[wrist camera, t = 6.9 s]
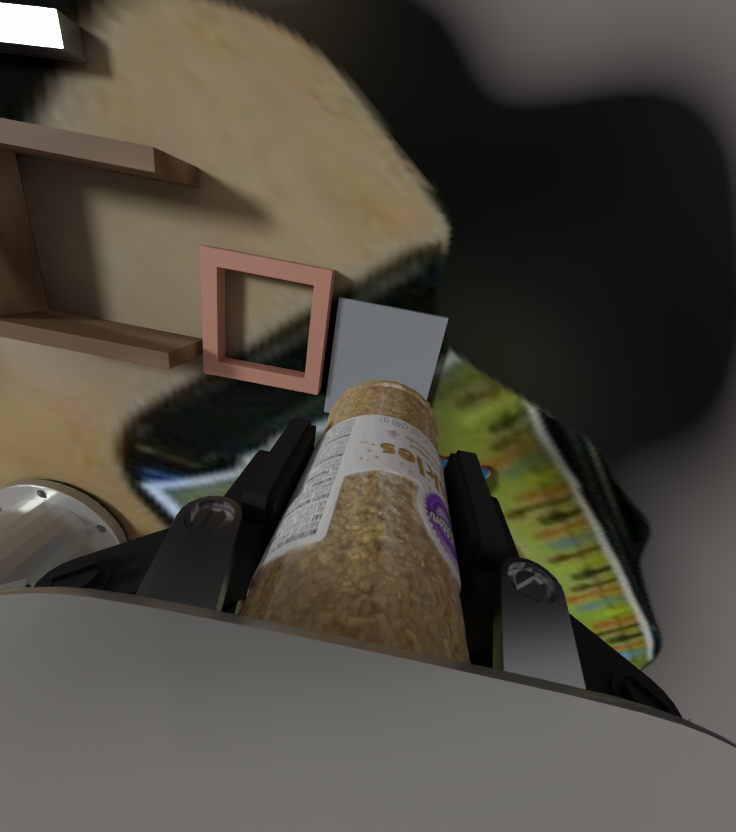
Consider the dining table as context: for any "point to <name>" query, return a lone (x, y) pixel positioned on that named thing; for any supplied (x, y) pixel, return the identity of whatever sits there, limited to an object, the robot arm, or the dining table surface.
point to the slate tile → (382, 347)
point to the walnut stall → (18, 263)
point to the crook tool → (39, 33)
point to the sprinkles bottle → (368, 532)
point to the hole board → (215, 318)
